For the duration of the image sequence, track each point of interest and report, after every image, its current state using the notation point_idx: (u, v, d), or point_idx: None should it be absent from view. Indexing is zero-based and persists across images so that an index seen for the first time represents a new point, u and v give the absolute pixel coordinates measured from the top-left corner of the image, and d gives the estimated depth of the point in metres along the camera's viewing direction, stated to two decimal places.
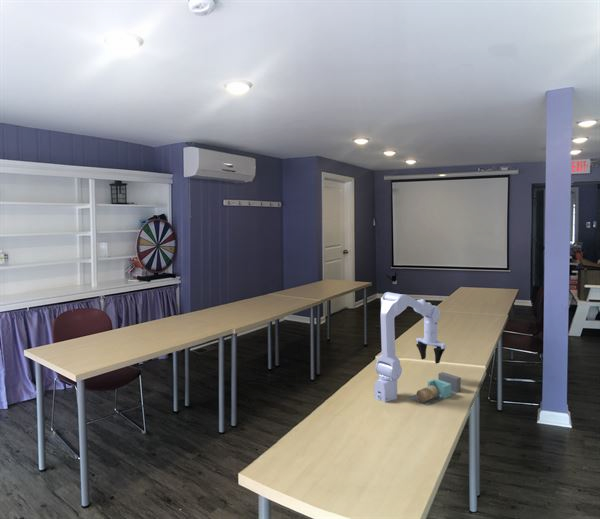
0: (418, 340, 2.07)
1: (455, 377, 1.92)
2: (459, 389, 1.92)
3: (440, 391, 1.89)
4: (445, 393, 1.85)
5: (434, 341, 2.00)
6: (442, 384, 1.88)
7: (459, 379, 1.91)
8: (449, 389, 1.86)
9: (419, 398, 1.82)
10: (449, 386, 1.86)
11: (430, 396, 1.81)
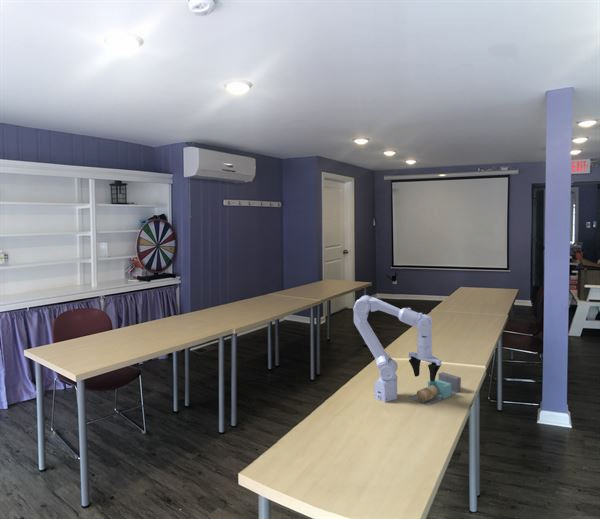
0: (411, 355, 1.85)
1: (455, 377, 1.92)
2: (459, 389, 1.92)
3: (440, 391, 1.89)
4: (445, 393, 1.85)
5: (428, 356, 1.79)
6: (442, 384, 1.88)
7: (459, 379, 1.91)
8: (449, 389, 1.86)
9: (419, 398, 1.82)
10: (449, 386, 1.86)
11: (430, 396, 1.81)
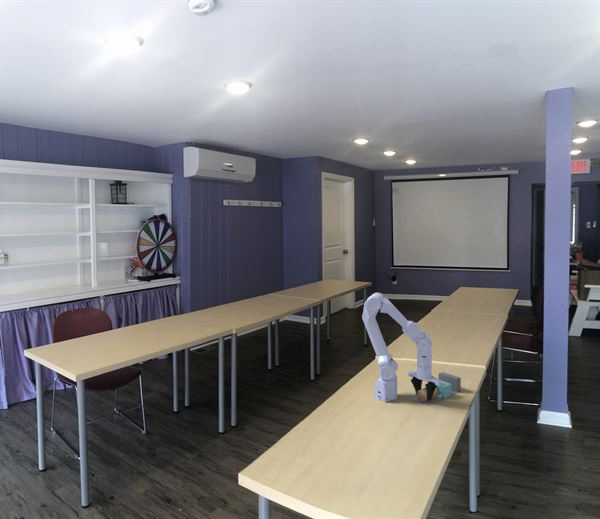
0: (410, 374, 1.86)
1: (455, 377, 1.92)
2: (459, 389, 1.92)
3: (440, 391, 1.89)
4: (445, 393, 1.85)
5: (428, 376, 1.79)
6: (442, 384, 1.88)
7: (459, 379, 1.91)
8: (449, 389, 1.86)
9: (419, 398, 1.82)
10: (449, 386, 1.86)
11: None
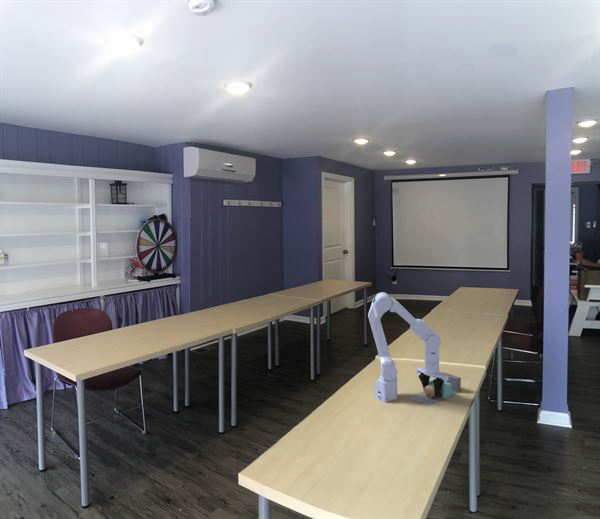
0: (418, 370, 1.89)
1: (455, 377, 1.92)
2: (459, 389, 1.92)
3: None
4: (445, 393, 1.85)
5: (436, 372, 1.82)
6: None
7: (459, 379, 1.91)
8: (449, 389, 1.87)
9: (427, 394, 1.85)
10: (449, 386, 1.86)
11: None
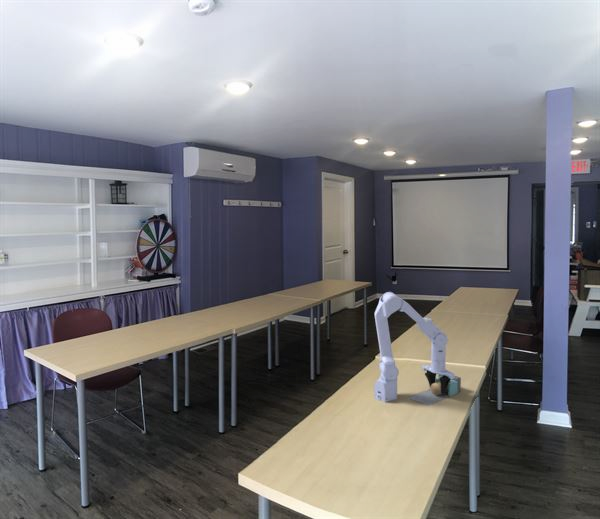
0: (424, 368, 1.91)
1: (455, 377, 1.92)
2: (459, 389, 1.92)
3: None
4: (451, 390, 1.88)
5: (442, 370, 1.85)
6: None
7: (459, 379, 1.91)
8: (455, 386, 1.89)
9: (433, 391, 1.88)
10: (455, 383, 1.89)
11: None
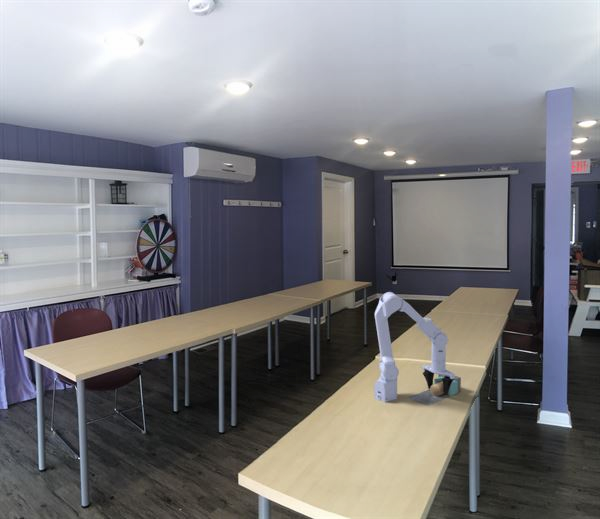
0: (425, 368, 1.92)
1: (455, 377, 1.92)
2: (459, 389, 1.92)
3: None
4: (451, 390, 1.88)
5: (442, 370, 1.85)
6: None
7: (459, 379, 1.91)
8: (455, 386, 1.89)
9: (433, 392, 1.88)
10: (455, 383, 1.89)
11: None
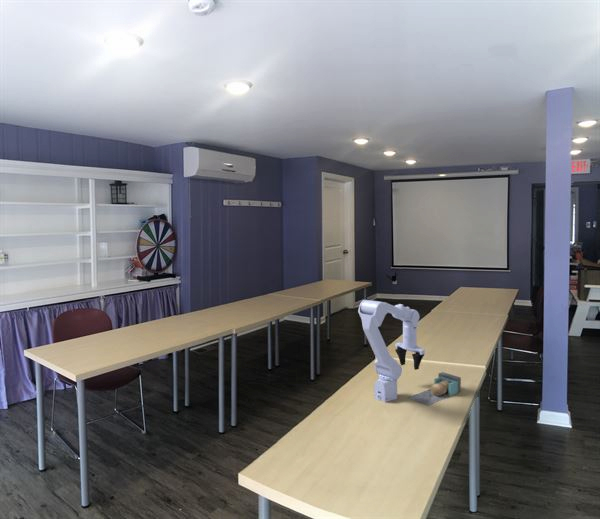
0: (397, 345, 2.00)
1: (455, 377, 1.92)
2: (459, 389, 1.92)
3: None
4: (451, 390, 1.88)
5: (413, 346, 1.93)
6: None
7: (459, 379, 1.91)
8: (455, 386, 1.89)
9: (433, 392, 1.88)
10: (455, 383, 1.89)
11: (444, 390, 1.87)
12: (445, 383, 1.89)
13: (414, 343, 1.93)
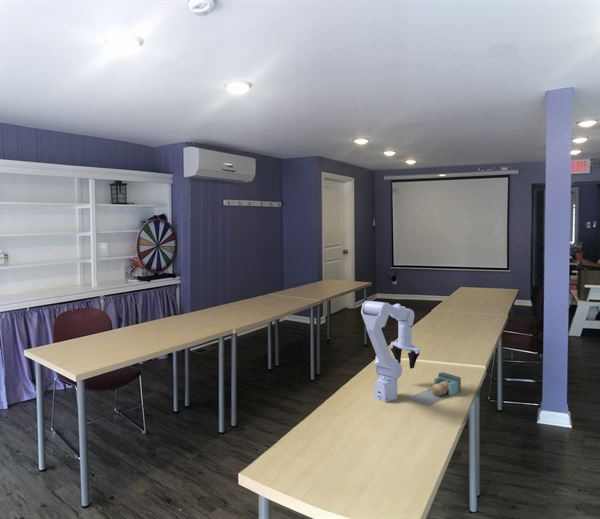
0: (393, 344, 2.01)
1: (455, 377, 1.92)
2: (459, 389, 1.92)
3: None
4: (451, 390, 1.88)
5: (408, 345, 1.94)
6: None
7: (459, 379, 1.91)
8: (455, 386, 1.89)
9: (433, 392, 1.88)
10: (455, 383, 1.89)
11: (444, 391, 1.87)
12: (446, 384, 1.89)
13: (409, 342, 1.94)
